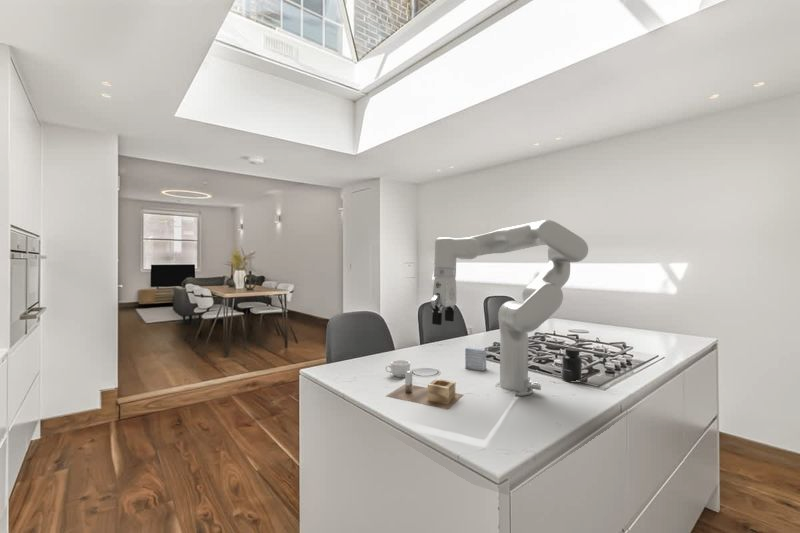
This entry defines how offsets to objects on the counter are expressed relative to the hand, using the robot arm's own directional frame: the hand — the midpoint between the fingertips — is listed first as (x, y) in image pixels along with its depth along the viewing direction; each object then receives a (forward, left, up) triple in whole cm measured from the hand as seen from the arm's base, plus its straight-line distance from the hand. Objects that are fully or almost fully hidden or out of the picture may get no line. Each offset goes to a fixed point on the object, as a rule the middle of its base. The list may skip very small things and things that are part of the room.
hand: (443, 322), depth 129 cm
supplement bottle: (-38, -37, -25) cm, 58 cm away
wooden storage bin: (-3, +9, -23) cm, 25 cm away
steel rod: (+9, +9, -23) cm, 26 cm away
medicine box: (-1, -34, -25) cm, 42 cm away
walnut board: (+3, +9, -25) cm, 26 cm away
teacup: (+23, -9, -25) cm, 35 cm away
